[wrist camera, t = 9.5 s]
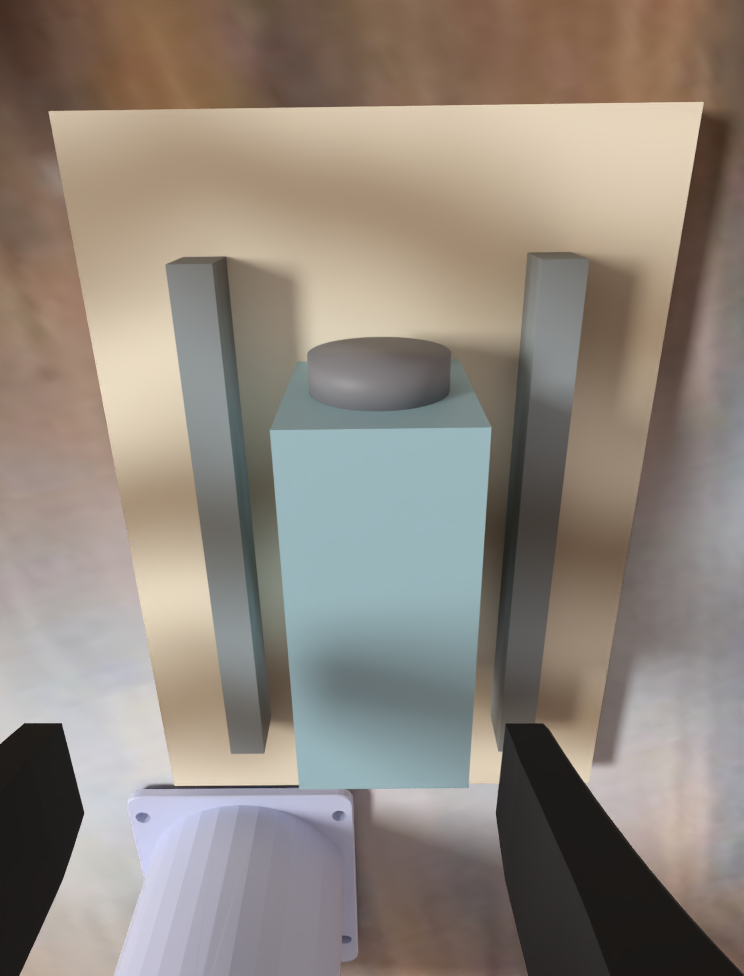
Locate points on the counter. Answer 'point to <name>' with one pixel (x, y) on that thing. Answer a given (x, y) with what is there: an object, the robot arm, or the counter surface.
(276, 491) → the pale blue tall carton
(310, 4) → the counter surface
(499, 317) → the jig board
